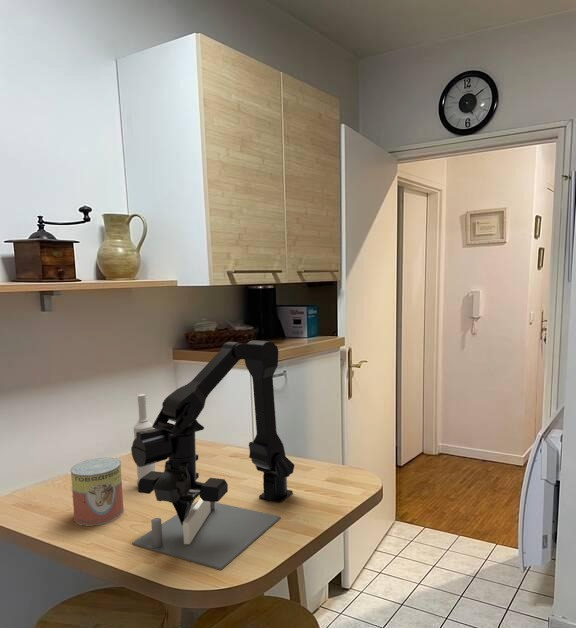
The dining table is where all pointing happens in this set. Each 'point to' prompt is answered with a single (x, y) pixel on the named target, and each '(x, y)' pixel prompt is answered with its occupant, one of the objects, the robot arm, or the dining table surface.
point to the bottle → (143, 426)
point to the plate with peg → (209, 535)
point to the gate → (196, 519)
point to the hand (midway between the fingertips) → (183, 524)
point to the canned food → (97, 491)
